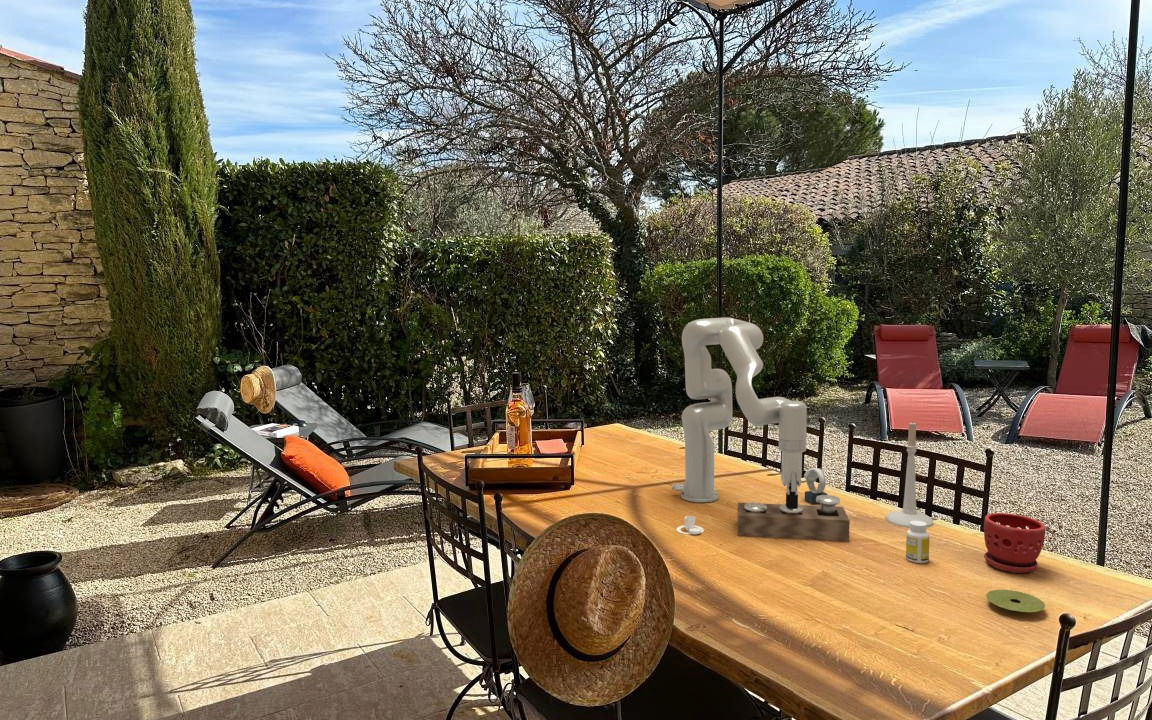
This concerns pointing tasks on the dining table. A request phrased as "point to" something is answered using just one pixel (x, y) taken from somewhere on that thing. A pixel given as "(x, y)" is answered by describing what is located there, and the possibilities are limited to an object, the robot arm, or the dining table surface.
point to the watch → (810, 479)
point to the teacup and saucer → (690, 526)
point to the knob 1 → (755, 507)
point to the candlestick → (909, 489)
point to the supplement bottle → (917, 542)
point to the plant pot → (1013, 542)
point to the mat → (1015, 600)
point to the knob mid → (791, 509)
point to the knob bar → (794, 523)
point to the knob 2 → (827, 504)
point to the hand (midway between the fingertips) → (791, 507)
